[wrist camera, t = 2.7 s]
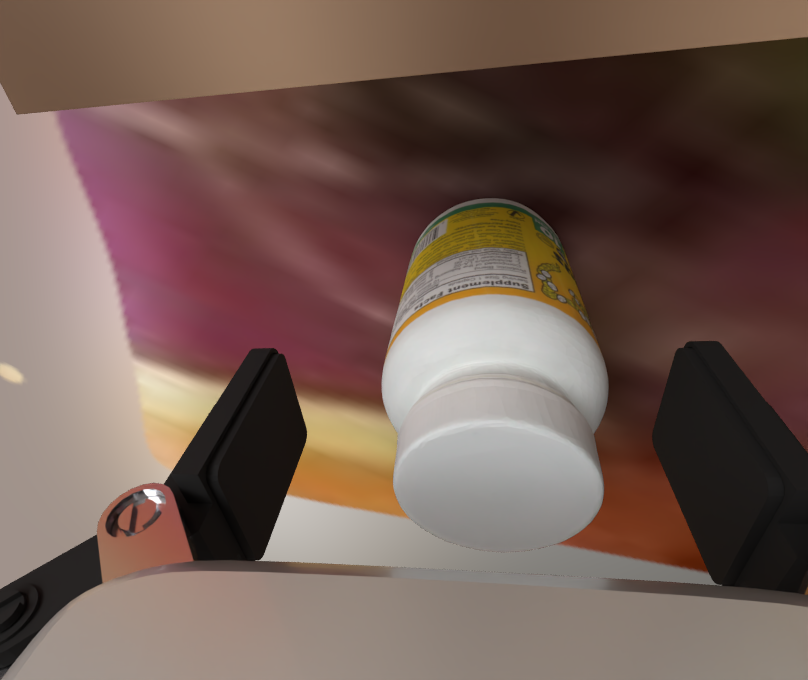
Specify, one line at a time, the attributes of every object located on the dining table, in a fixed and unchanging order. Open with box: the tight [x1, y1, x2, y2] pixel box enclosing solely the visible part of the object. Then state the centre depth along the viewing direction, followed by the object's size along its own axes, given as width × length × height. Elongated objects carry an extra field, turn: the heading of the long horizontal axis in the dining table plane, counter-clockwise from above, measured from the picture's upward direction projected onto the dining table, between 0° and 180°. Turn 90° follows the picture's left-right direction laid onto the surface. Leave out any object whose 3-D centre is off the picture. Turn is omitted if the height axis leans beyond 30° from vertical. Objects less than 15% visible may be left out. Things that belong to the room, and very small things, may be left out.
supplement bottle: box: [382, 198, 608, 552], centre depth 13 cm, size 5×5×10 cm
